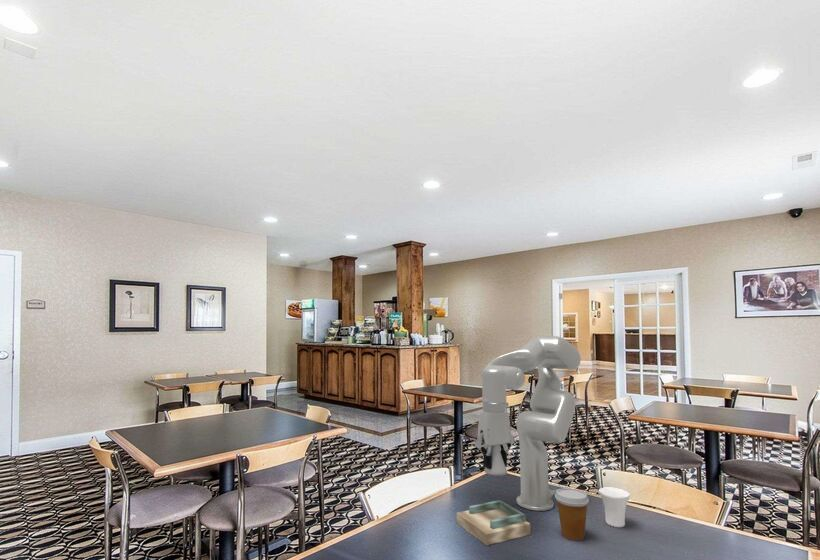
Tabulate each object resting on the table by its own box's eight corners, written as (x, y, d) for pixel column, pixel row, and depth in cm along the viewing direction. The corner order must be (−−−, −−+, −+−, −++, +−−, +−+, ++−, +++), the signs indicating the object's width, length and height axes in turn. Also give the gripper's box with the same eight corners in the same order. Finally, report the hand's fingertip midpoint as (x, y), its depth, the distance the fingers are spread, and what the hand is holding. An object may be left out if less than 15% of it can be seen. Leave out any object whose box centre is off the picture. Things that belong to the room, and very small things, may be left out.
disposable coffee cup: (574, 546, 121) (572, 501, 123) (549, 532, 129) (548, 490, 131) (597, 539, 125) (595, 496, 127) (571, 525, 134) (570, 485, 135)
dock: (497, 513, 142) (497, 497, 143) (530, 534, 128) (530, 516, 129) (456, 522, 136) (456, 506, 136) (486, 545, 121) (486, 526, 122)
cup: (596, 516, 140) (594, 484, 142) (626, 519, 139) (625, 487, 140) (602, 528, 132) (601, 494, 133) (635, 532, 130) (633, 497, 131)
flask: (507, 477, 130) (506, 443, 131) (483, 475, 132) (483, 441, 133) (507, 469, 137) (506, 437, 138) (484, 468, 139) (483, 436, 140)
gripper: (508, 403, 144) (509, 460, 142) (465, 407, 136) (466, 466, 134) (523, 407, 137) (524, 466, 135) (479, 411, 130) (479, 474, 128)
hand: (495, 466), depth 135 cm, fingers closed on flask, 5 cm apart
